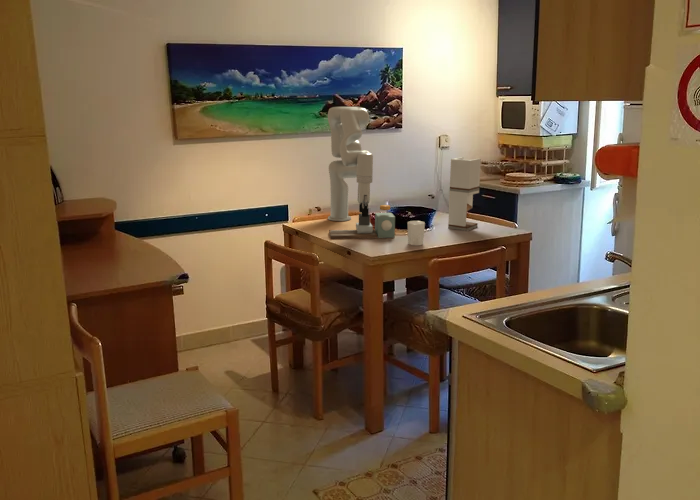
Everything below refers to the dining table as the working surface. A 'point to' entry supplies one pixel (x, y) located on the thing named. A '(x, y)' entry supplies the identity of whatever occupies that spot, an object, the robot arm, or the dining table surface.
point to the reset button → (384, 207)
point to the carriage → (364, 225)
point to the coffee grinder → (462, 191)
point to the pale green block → (385, 225)
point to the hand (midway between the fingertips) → (363, 214)
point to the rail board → (350, 234)
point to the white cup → (416, 232)
